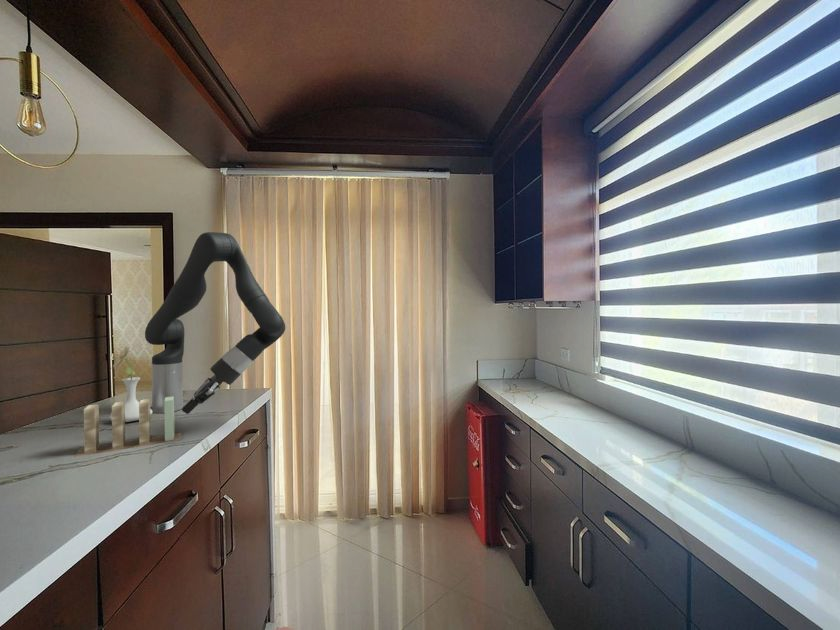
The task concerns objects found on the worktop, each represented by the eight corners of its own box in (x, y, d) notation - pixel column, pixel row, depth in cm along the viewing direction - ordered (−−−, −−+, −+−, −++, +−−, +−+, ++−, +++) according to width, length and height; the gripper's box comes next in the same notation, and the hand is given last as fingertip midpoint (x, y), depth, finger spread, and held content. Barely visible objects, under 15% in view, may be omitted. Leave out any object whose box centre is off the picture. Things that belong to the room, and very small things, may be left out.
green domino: (164, 441, 101) (164, 400, 101) (165, 435, 106) (165, 397, 105) (173, 439, 102) (173, 399, 102) (174, 434, 107) (173, 396, 106)
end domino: (84, 453, 93) (83, 409, 92) (89, 447, 97) (88, 405, 97) (95, 452, 94) (94, 408, 93) (99, 445, 98) (98, 404, 98)
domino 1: (112, 449, 95) (111, 406, 95) (115, 443, 100) (115, 402, 100) (122, 447, 97) (121, 405, 96) (125, 441, 101) (124, 401, 101)
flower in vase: (115, 417, 127) (114, 344, 127) (156, 413, 132) (155, 342, 131) (102, 428, 115) (101, 348, 115) (147, 423, 120) (146, 346, 120)
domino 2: (139, 445, 98) (138, 403, 98) (141, 439, 103) (141, 399, 102) (148, 443, 99) (148, 402, 99) (150, 438, 104) (150, 398, 103)
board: (73, 460, 91) (73, 456, 91) (81, 451, 97) (81, 447, 97) (180, 443, 102) (180, 439, 102) (181, 436, 108) (181, 432, 108)
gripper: (220, 354, 116) (173, 398, 110) (223, 359, 105) (172, 409, 99) (239, 370, 119) (195, 413, 113) (244, 376, 108) (195, 425, 101)
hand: (184, 411), depth 106 cm, fingers closed
